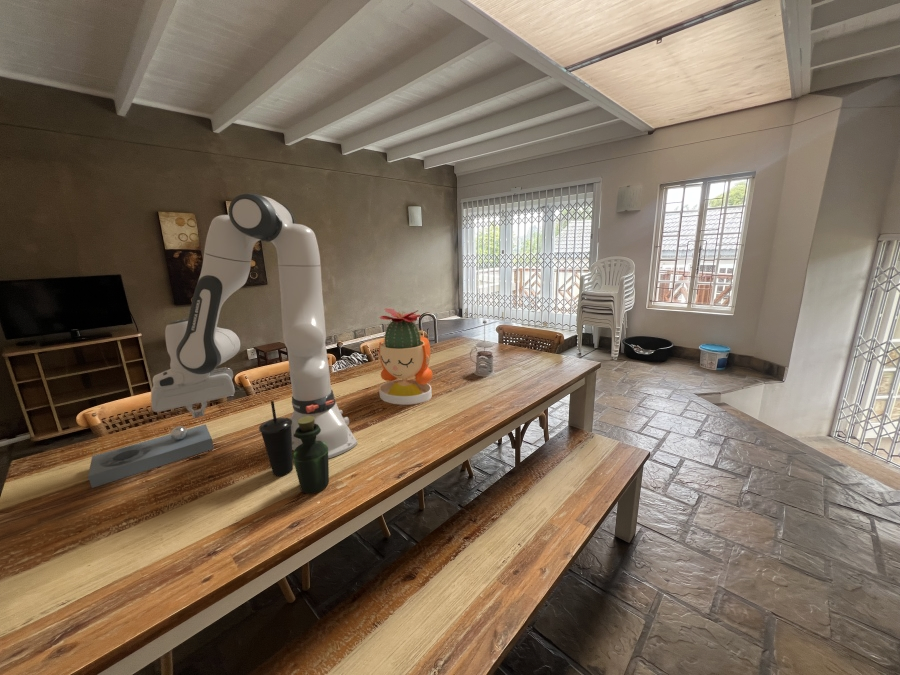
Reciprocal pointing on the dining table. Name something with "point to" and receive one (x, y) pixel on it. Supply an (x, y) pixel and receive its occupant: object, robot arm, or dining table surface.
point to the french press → (483, 369)
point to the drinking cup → (278, 443)
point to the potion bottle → (311, 457)
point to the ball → (178, 433)
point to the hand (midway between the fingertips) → (198, 416)
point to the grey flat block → (147, 455)
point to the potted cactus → (404, 361)
